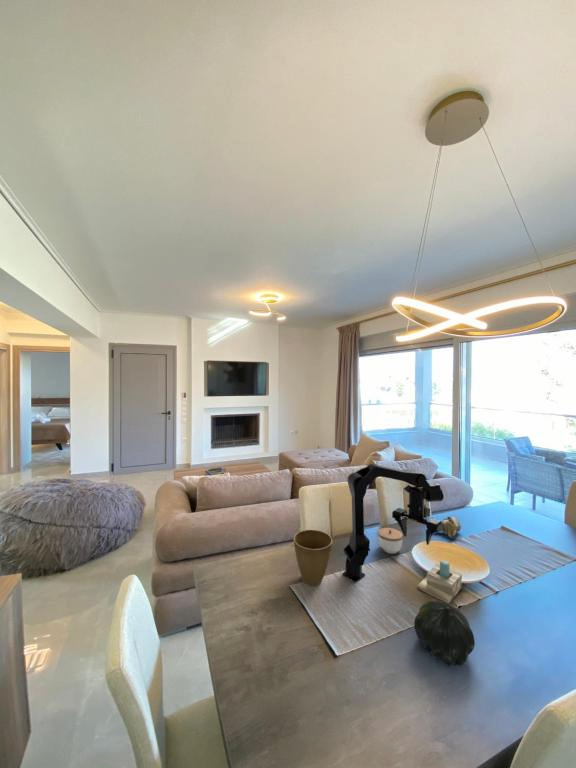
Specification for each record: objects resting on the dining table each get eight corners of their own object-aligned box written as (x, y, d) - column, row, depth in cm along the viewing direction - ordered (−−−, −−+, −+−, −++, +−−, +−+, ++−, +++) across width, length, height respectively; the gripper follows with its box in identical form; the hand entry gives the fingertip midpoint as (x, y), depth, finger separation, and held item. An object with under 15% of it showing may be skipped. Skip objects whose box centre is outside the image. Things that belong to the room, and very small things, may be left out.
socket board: (448, 603, 107) (448, 589, 107) (417, 588, 115) (417, 574, 115) (461, 587, 116) (461, 574, 116) (431, 574, 124) (431, 561, 124)
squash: (426, 601, 101) (418, 582, 93) (479, 625, 91) (476, 607, 83) (414, 651, 93) (404, 635, 85) (472, 684, 83) (466, 669, 75)
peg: (447, 588, 114) (447, 566, 113) (438, 584, 116) (438, 562, 116) (450, 584, 116) (450, 563, 116) (441, 580, 118) (441, 559, 118)
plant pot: (286, 585, 117) (286, 542, 117) (303, 564, 130) (303, 526, 130) (323, 597, 110) (323, 552, 110) (337, 574, 123) (337, 534, 123)
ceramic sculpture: (466, 516, 157) (450, 525, 149) (467, 533, 158) (451, 543, 149) (445, 509, 166) (429, 518, 158) (446, 525, 166) (430, 535, 158)
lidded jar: (406, 556, 136) (406, 535, 136) (381, 556, 137) (381, 535, 137) (398, 544, 147) (398, 524, 147) (375, 543, 147) (375, 524, 147)
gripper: (448, 503, 125) (448, 542, 125) (404, 491, 139) (404, 526, 139) (436, 511, 118) (436, 552, 118) (391, 497, 132) (391, 534, 132)
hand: (416, 540), depth 127 cm, fingers open, 9 cm apart
